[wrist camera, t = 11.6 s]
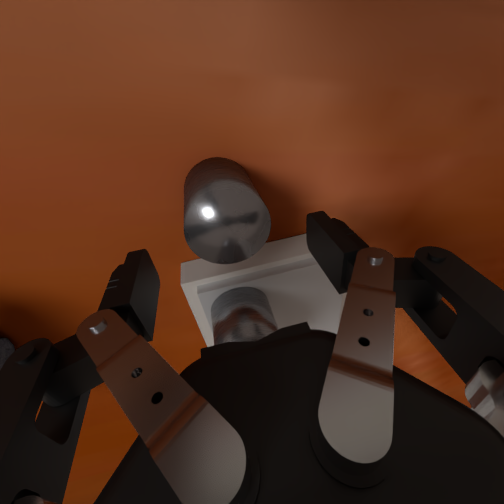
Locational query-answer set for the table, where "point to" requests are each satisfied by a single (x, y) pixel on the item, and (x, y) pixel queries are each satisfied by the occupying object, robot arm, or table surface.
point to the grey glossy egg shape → (242, 316)
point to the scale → (268, 286)
